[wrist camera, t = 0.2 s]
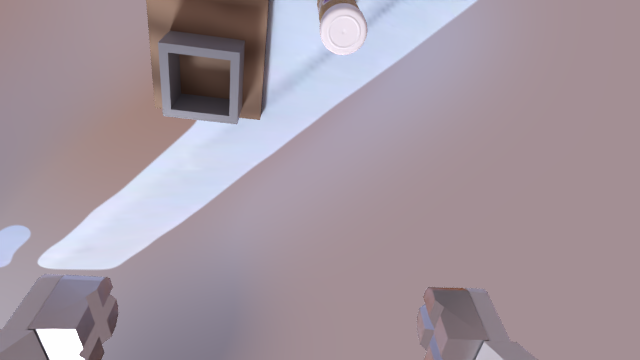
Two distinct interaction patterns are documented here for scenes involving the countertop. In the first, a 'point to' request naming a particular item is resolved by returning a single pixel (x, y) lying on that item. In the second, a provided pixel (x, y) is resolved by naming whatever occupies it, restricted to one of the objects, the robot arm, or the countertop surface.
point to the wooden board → (220, 21)
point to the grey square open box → (194, 104)
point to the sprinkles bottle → (341, 26)
